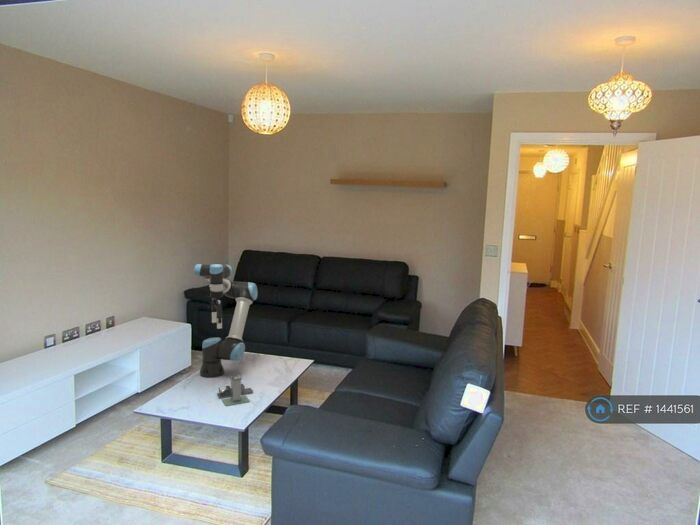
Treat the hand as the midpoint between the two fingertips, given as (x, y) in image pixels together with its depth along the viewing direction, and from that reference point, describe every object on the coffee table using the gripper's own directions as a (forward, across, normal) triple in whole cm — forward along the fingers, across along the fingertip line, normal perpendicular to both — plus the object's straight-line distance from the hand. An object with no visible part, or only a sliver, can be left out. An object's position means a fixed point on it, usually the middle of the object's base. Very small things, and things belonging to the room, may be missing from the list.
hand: (216, 325), depth 294 cm
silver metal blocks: (+39, +15, +7) cm, 42 cm away
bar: (+38, +24, +5) cm, 45 cm away
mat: (+39, +24, +5) cm, 46 cm away
